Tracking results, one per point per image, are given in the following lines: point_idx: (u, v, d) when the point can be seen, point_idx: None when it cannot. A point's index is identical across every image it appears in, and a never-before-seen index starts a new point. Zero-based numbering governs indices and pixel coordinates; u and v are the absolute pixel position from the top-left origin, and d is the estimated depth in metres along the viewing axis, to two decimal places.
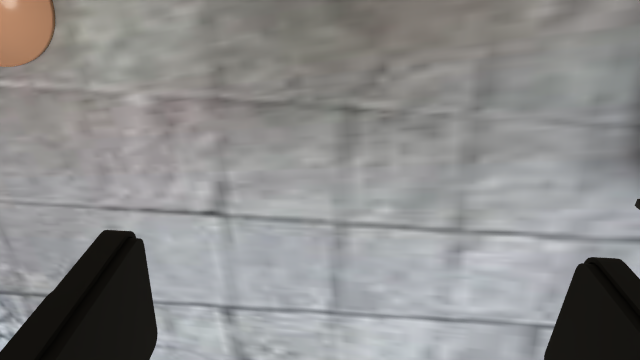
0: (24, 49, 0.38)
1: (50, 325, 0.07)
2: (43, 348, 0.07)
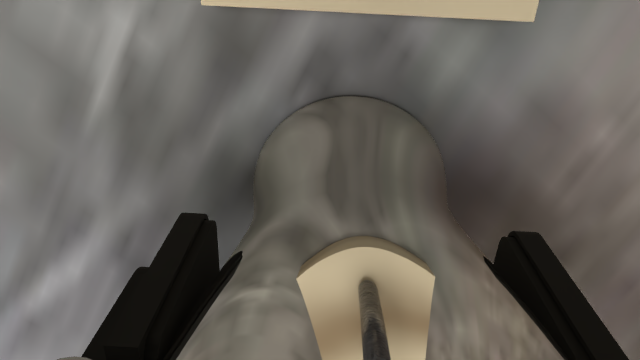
0: None
1: (156, 293, 0.08)
2: (155, 312, 0.07)
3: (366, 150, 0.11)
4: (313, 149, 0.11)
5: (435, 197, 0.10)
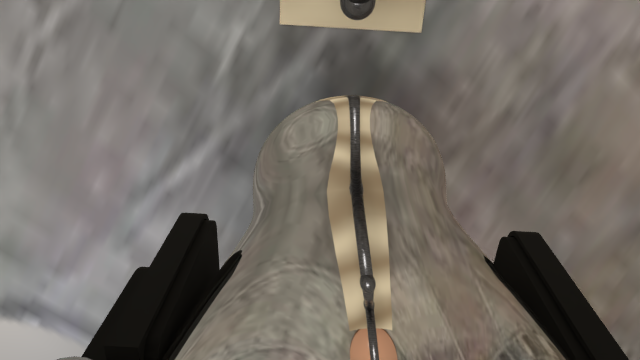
0: None
1: (156, 293, 0.08)
2: (155, 312, 0.07)
3: (366, 149, 0.11)
4: (313, 148, 0.11)
5: (435, 196, 0.10)
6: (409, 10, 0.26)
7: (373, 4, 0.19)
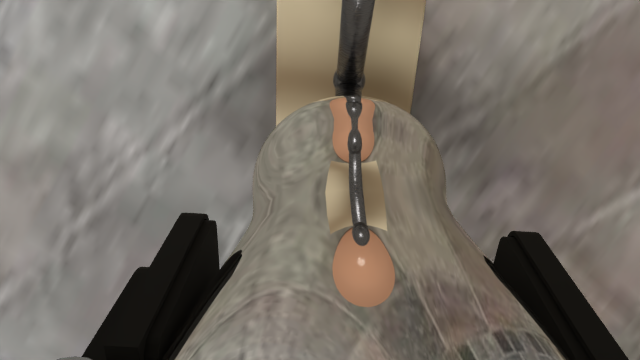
0: None
1: (157, 293, 0.08)
2: (155, 312, 0.07)
3: (366, 149, 0.11)
4: (312, 148, 0.11)
5: (435, 196, 0.10)
6: None
7: None
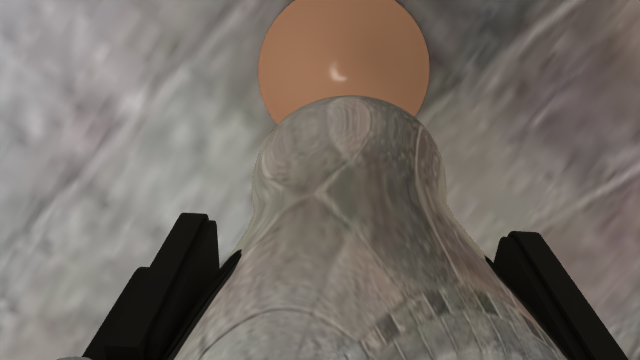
0: (276, 57, 0.27)
1: (157, 293, 0.08)
2: (156, 312, 0.07)
3: (366, 149, 0.11)
4: (312, 148, 0.11)
5: (435, 196, 0.10)
6: None
7: None
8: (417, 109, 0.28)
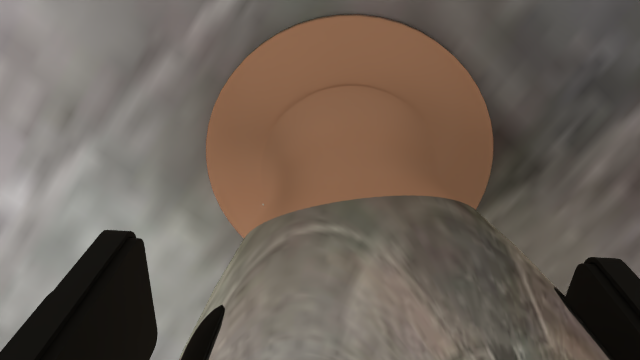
0: (235, 135, 0.16)
1: (50, 325, 0.07)
2: (43, 348, 0.07)
3: (370, 130, 0.12)
4: (321, 131, 0.12)
5: (432, 170, 0.11)
6: None
7: None
8: None
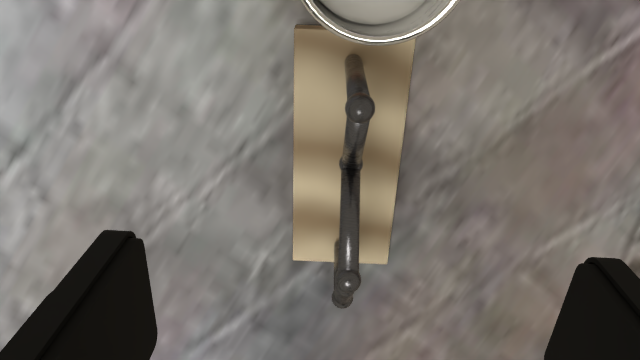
0: None
1: (50, 325, 0.07)
2: (43, 348, 0.07)
3: None
4: None
5: None
6: (378, 252, 0.39)
7: (351, 301, 0.32)
8: None
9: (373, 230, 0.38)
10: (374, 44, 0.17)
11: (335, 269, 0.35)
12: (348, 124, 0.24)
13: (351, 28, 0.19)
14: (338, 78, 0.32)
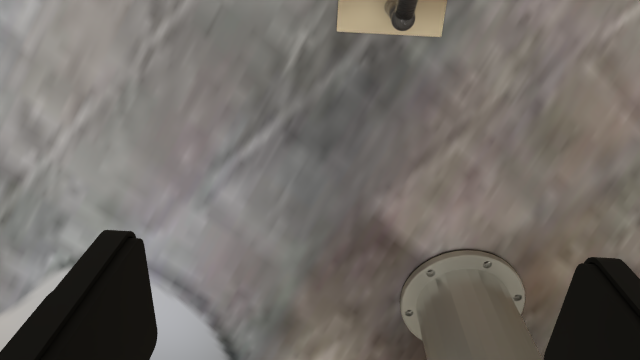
0: None
1: (50, 325, 0.07)
2: (43, 348, 0.07)
3: None
4: None
5: None
6: (432, 20, 0.35)
7: (414, 20, 0.28)
8: None
9: None
10: None
11: (391, 7, 0.31)
12: None
13: None
14: None
